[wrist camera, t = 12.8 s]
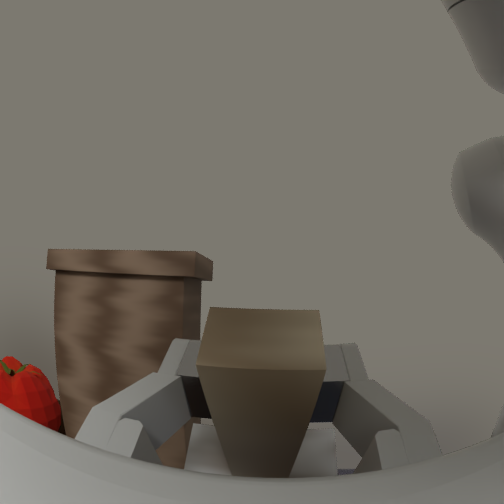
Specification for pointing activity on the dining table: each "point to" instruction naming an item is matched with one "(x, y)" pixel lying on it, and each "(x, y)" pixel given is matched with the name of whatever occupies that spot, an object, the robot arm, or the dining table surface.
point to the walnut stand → (122, 325)
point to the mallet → (262, 396)
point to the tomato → (29, 393)
